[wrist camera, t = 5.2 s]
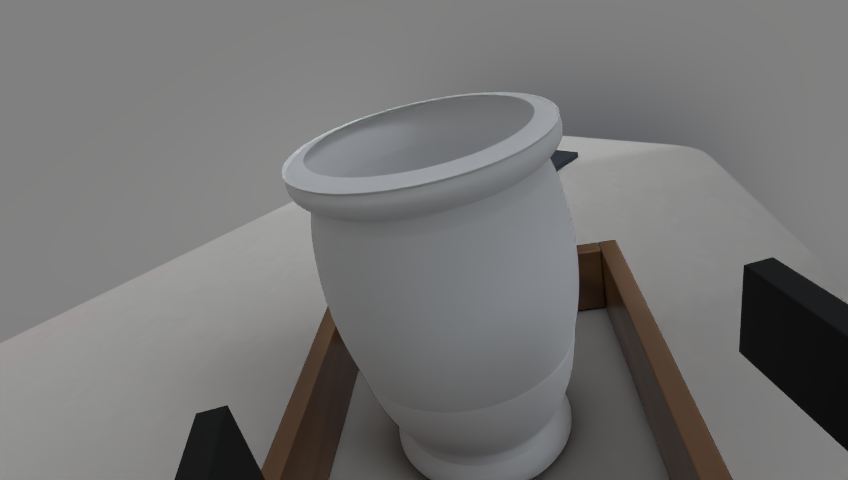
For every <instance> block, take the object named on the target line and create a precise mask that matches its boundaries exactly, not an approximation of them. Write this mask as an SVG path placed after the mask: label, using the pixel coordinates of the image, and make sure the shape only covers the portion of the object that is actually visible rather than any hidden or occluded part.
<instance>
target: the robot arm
mask: <svg viewBox="0 0 848 480" xmlns="http://www.w3.org/2000/svg"><path fill="white" fill-rule="evenodd" d="M739 352H740V353H741V354H742V355H743V356H744V357H746V358H747V359H748V360H749V361H750V362H751V363H752V364H753V365H754V366H755V367H756V368H758V369H759V370H760V371H761V372H762V373H763V374H764V375H765V376H766V377H767V378H768V379H770V380H771V381H772V382H773V383H774V384H775V385H776V386H777V387H778V388H779V389H781V390H782V391H783V392H784V393H785V394H786V395H787V396H788V397H789V398H790V399H791V400H793V401H794V402H795V403H796V404H797V405H798V406H799V407H800V408H801V409H802V410H803V411H805V412H806V413H807V414H808V415H809V416H810V417H811V418H812V419H813V420H814V421H815V422H817V423H818V424H819V425H820V426H821V427H822V428H823V429H824V430H825V431H826V432H827V433H829V434H830V435H831V436H832V437H833V438H834V439H835V440H836V441H837V442H838V443H839V444H841V445H842V446H843V447H844V448H845V449H846V450H847V451H848V304H846V303H845V302H843V301H842V300H840V299H838V298H837V297H835V296H834V295H832V294H830V293H829V292H827V291H826V290H824V289H823V288H821V287H819V286H818V285H816V284H815V283H813V282H811V281H810V280H808V279H807V278H805V277H803V276H802V275H800V274H799V273H797V272H795V271H794V270H792V269H791V268H789V267H788V266H786V265H784V264H783V263H781V262H780V261H778V260H776V259H775V258H769V259H765V260H762V261H758V262H754V263H750V264H747V265H744V274H743V292H742V310H741V328H740V345H739ZM175 480H265V478H264V476H263V474H262V472H261V470H260V469H259V467H258V465H257V463H256V461H255V459H254V457H253V455H252V453H251V451H250V449H249V447H248V445H247V443H246V441H245V439H244V437H243V435H242V433H241V431H240V429H239V427H238V425H237V423H236V421H235V419H234V417H233V415H232V413H231V411H230V409H229V408H228V406H223V407H219V408H216V409H212V410H208V411H204V412H201V413H197V414H196V416H195V419H194V422H193V425H192V428H191V431H190V434H189V437H188V440H187V443H186V446H185V449H184V452H183V456H182V459H181V462H180V465H179V468H178V471H177V474H176V477H175Z"/></svg>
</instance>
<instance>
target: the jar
mask: <svg viewBox="0 0 848 480" xmlns="http://www.w3.org/2000/svg"><path fill="white" fill-rule="evenodd" d="M561 138H562V122H561V118H560V116H559V109H558V107H557V106H556V104H554V103H553V102H552V101H550V100H548V99H546V98H543V97H540V96H537V95H531V94H526V93H515V92H487V93H473V94H463V95H455V96H448V97H442V98H436V99H431V100H426V101H421V102H416V103H412V104H407V105H403V106H399V107H395V108H392V109H388V110H385V111H381V112H378V113H375V114H372V115H369V116H366V117H363V118H360V119H357V120H354V121H352V122H349V123H347V124H344V125H342V126H339V127H337V128H335V129H333V130H330V131H328V132H326V133H324V134H322V135H320V136H319V137H317V138H315V139H313V140H311V141H310V142H308V143H306V144H305V145H304V146H302V147H301V148H299V149H298V150H297V151H295V152H294V153H293V154H292V155H291V156H290V157H289V158H288V159H287V161H286V162H285V163H284V165H283V168H282V177H283V179H284V180H285V184H286V188H287V191H288V193H289V195H290V196H291V198H292V199H293V201H294V202H295V203H297V204H298V205H299V206H300V207H302V208H304V209H305V210H307V211H309V212H311V231H312V241H313V248H314V254H315V259H316V264H317V269H318V273H319V277H320V281H321V285H322V289H323V292H324V295H325V299H326V302H327V304H328V307H329V310H330V313H331V315H332V318H333V320H334V323H335V325H336V327H337V329H338V332H339V334H340V336H341V338H342V340H343V342H344V344H345V345H346V347H347V349H348V351H349V353H350V354H351V356H352V358H353V360H354V361H355V363H356V365H357V366H358V368H359V369H360V371H361V372H362V374H363V375H364V377H365V378H366V380H367V382H368V384H369V386H370V388H371V390H372V392H373V393H374V395H375V397H376V398H377V400H378V401H379V403H380V404H381V406H382V407H383V409H384V410H385V411H386V413H387V414H388V415H389V416H390V417H391V418H392V420H393V421H394V422H395V423H396V424H397V425H398V426H399V433H400V440H401V444H402V447H403V449H404V452H405V454H406V456H407V457H408V459H409V460H410V462H411V463H412V464H413V466H414V467H415V468H416V469H417V470H418V471H420V472H421V473H422V474H423V475H424V476H426V477H427V478H429V479H431V480H530V479H532V478H534V477H535V476H537V475H538V474H540V473H541V472H543V471H544V470H545V469H547V468H548V467H549V466H550V465H551V464H552V463H553V462H554V461H555V460H556V459H557V457H558V456H559V455H560V453H561V452H562V450H563V449H564V447H565V445H566V443H567V440H568V438H569V435H570V431H571V424H572V414H571V407H570V404H569V401H568V398H567V396H566V394H565V392H566V389H567V386H568V383H569V380H570V376H571V371H572V366H573V359H574V349H575V325H576V319H577V311H578V300H579V267H578V255H577V246H576V240H575V234H574V228H573V224H572V219H571V215H570V211H569V207H568V203H567V199H566V196H565V193H564V190H563V187H562V184H561V181H560V178H559V176H558V173H557V171H556V169H555V167H554V165H553V163H552V161H551V159H550V157H551V156H552V155H553V153H554V152H555V151H556V149H557V147H558V145H559V143H560V141H561Z"/></svg>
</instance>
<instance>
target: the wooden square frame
mask: <svg viewBox="0 0 848 480" xmlns="http://www.w3.org/2000/svg"><path fill="white" fill-rule="evenodd" d="M577 255H578V267H579V300H578V310H586V309H594V308H601V307H605V306H606V308H607V310H608V313H609V316H610V318H611V321H612V324H613V326H614V329H615V332H616V335H617V337H618V340H619V343H620V345H621V348H622V351H623V353H624V356H625V359H626V361H627V364H628V367H629V369H630V372H631V375H632V378H633V380H634V383H635V386H636V388H637V391H638V394H639V396H640V399H641V402H642V404H643V407H644V410H645V412H646V415H647V418H648V421H649V423H650V426H651V429H652V431H653V434H654V437H655V439H656V442H657V445H658V447H659V450H660V453H661V455H662V458H663V461H664V464H665V466H666V469H667V472H668V474H669V477H670V480H732V477H731V475H730V473H729V471H728V469H727V467H726V465H725V463H724V461H723V459H722V457H721V455H720V453H719V451H718V449H717V447H716V445H715V443H714V441H713V439H712V437H711V435H710V432H709V430H708V428H707V426H706V424H705V422H704V420H703V418H702V416H701V414H700V412H699V410H698V408H697V406H696V404H695V402H694V400H693V398H692V396H691V394H690V392H689V390H688V387H687V385H686V383H685V381H684V379H683V377H682V375H681V373H680V371H679V369H678V367H677V365H676V363H675V361H674V359H673V357H672V355H671V353H670V351H669V349H668V347H667V344H666V342H665V340H664V338H663V336H662V334H661V332H660V330H659V328H658V326H657V324H656V322H655V320H654V318H653V316H652V314H651V312H650V310H649V308H648V306H647V304H646V302H645V299H644V297H643V295H642V293H641V291H640V289H639V287H638V285H637V283H636V281H635V279H634V277H633V275H632V273H631V271H630V269H629V267H628V265H627V263H626V261H625V259H624V257H623V254H622V252H621V250H620V248H619V246H618V244H617V242H616V240H610V241H603V242H599V243H590V244H584V245H577ZM357 371H358V366H357V365H356V363H355V361H354V360H353V358H352V356H351V354H350V353H349V351H348V349H347V347H346V345H345V344H344V342H343V340H342V338H341V336H340V334H339V332H338V329H337V327H336V325H335V323H334V320H333V318H332V315H331V313H330V310H329V307H327V309H326V312H325V314H324V317H323V319H322V322H321V324H320V327H319V329H318V332H317V334H316V337H315V339H314V342H313V344H312V347H311V349H310V352H309V354H308V356H307V359H306V361H305V364H304V366H303V369H302V371H301V374H300V376H299V379H298V381H297V384H296V386H295V389H294V391H293V394H292V396H291V399H290V401H289V403H288V406H287V408H286V411H285V413H284V416H283V418H282V421H281V423H280V426H279V428H278V431H277V433H276V436H275V438H274V441H273V443H272V446H271V448H270V450H269V453H268V455H267V458H266V460H265V463H264V465H263V468H262V470H261V472H262V474H263V476H264V478H265V480H328V478H329V474H330V471H331V467H332V463H333V460H334V456H335V452H336V449H337V445H338V441H339V438H340V434H341V430H342V427H343V423H344V419H345V415H346V412H347V408H348V404H349V401H350V397H351V393H352V390H353V386H354V382H355V379H356V375H357Z"/></svg>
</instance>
